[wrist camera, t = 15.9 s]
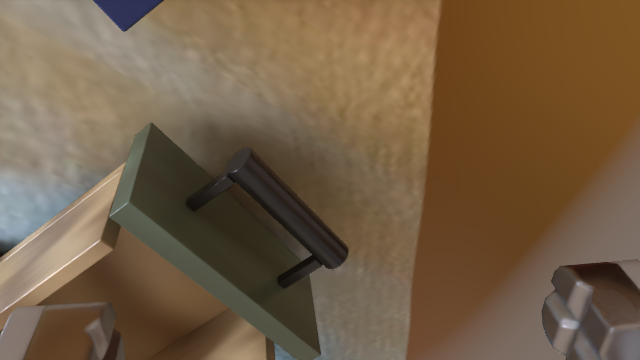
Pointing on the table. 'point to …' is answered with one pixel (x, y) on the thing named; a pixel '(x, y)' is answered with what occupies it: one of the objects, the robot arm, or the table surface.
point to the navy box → (127, 10)
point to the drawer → (180, 258)
